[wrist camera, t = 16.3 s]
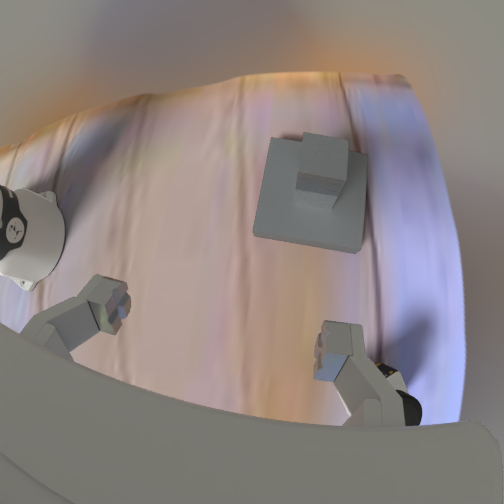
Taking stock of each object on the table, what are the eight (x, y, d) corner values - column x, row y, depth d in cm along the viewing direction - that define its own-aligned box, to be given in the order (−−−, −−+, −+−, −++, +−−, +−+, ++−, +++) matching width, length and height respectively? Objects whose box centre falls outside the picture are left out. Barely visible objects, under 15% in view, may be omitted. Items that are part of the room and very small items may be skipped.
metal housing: (293, 202, 37) (297, 171, 29) (298, 169, 38) (303, 132, 29) (330, 209, 37) (346, 180, 28) (334, 175, 38) (348, 140, 29)
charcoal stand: (254, 236, 40) (252, 230, 37) (271, 147, 42) (271, 137, 40) (355, 253, 38) (361, 249, 36) (362, 164, 41) (367, 154, 38)
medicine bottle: (380, 361, 35) (419, 378, 24) (396, 401, 34) (435, 428, 22) (334, 386, 35) (358, 416, 24) (353, 426, 34) (379, 463, 22)
